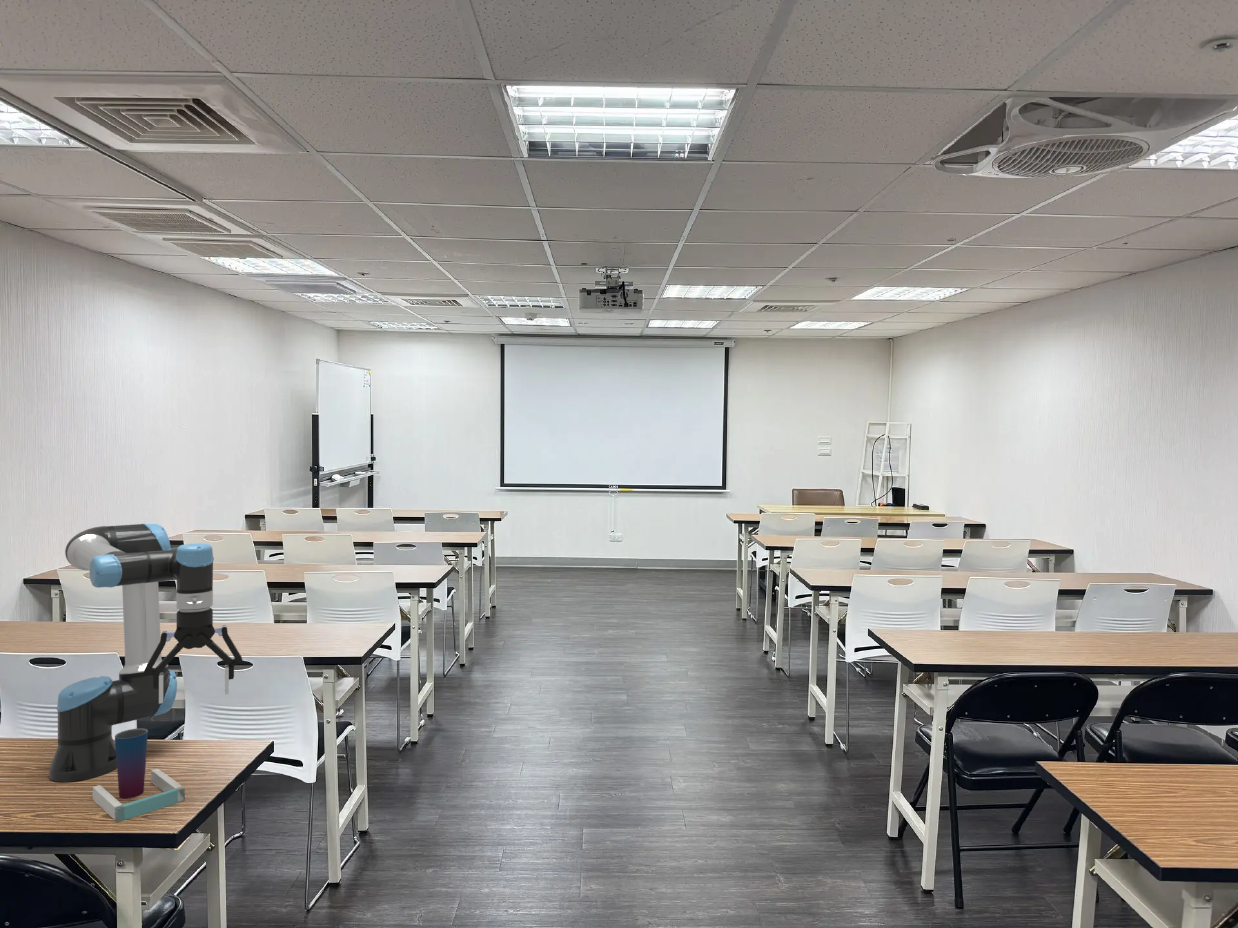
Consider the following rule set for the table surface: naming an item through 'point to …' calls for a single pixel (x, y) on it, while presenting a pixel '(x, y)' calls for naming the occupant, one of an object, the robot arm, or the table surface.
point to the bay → (122, 812)
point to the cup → (131, 761)
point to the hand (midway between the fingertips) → (194, 697)
